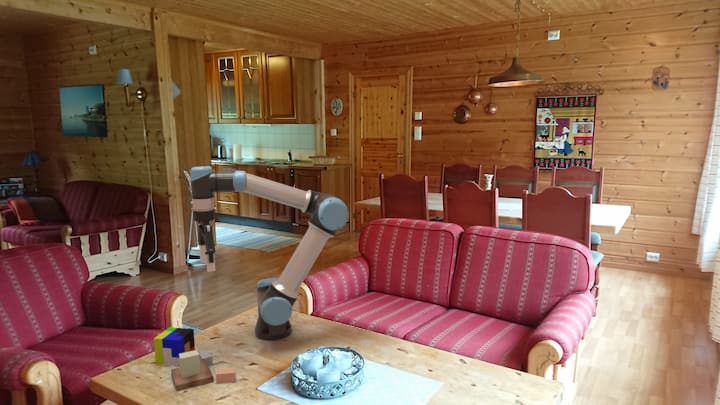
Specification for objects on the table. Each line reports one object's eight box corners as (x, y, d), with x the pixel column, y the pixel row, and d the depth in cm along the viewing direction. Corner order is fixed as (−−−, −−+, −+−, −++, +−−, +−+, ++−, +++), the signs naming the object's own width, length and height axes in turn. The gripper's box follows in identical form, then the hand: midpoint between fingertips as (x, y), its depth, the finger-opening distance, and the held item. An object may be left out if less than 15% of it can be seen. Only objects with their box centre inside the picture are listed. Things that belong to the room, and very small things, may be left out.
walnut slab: (207, 366, 174) (206, 361, 173) (213, 381, 163) (213, 376, 163) (171, 374, 168) (171, 369, 168) (176, 391, 158) (175, 385, 157)
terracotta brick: (235, 377, 166) (235, 367, 166) (235, 382, 163) (234, 372, 162) (217, 378, 165) (217, 369, 165) (216, 384, 162) (216, 374, 161)
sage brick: (198, 368, 168) (197, 349, 167) (200, 373, 165) (199, 354, 164) (180, 372, 165) (178, 353, 164) (182, 378, 162) (180, 358, 161)
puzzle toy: (180, 366, 174) (178, 340, 172) (156, 364, 176) (153, 338, 174) (195, 353, 184) (193, 329, 182) (171, 351, 186) (169, 327, 184)
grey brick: (199, 361, 178) (198, 352, 178) (208, 358, 180) (208, 349, 179) (203, 367, 173) (202, 358, 172) (212, 365, 175) (212, 356, 174)
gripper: (187, 205, 183) (191, 259, 186) (199, 216, 161) (203, 277, 164) (207, 203, 186) (211, 257, 189) (221, 213, 164) (225, 273, 168)
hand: (207, 266), depth 177 cm, fingers open, 13 cm apart
